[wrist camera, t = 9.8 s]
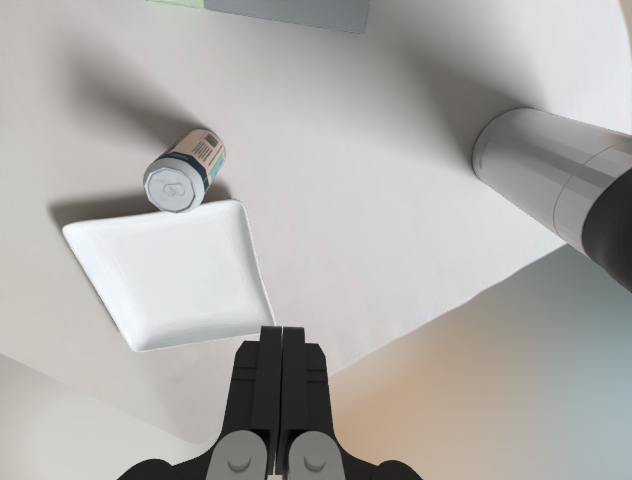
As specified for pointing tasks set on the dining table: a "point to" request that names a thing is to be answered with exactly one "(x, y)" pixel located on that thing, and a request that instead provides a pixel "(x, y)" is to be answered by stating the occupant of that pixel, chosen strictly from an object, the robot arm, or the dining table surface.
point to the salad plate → (175, 274)
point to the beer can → (184, 172)
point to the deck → (292, 11)
